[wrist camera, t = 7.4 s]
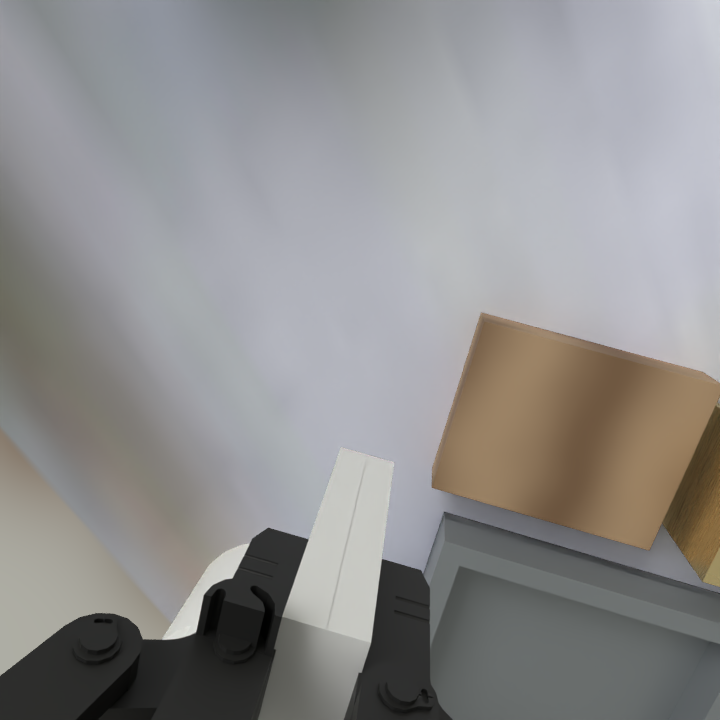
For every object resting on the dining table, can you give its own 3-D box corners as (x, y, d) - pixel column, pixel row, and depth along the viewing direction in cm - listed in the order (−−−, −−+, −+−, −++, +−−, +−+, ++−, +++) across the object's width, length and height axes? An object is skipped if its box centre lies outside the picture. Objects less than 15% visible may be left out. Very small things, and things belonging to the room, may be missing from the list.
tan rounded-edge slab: (432, 464, 29) (431, 487, 26) (480, 310, 27) (484, 321, 24) (631, 521, 28) (649, 550, 26) (698, 369, 26) (724, 386, 24)
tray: (369, 735, 33) (363, 778, 31) (443, 511, 29) (444, 541, 26) (627, 818, 32) (643, 870, 30) (745, 601, 28) (775, 640, 26)
